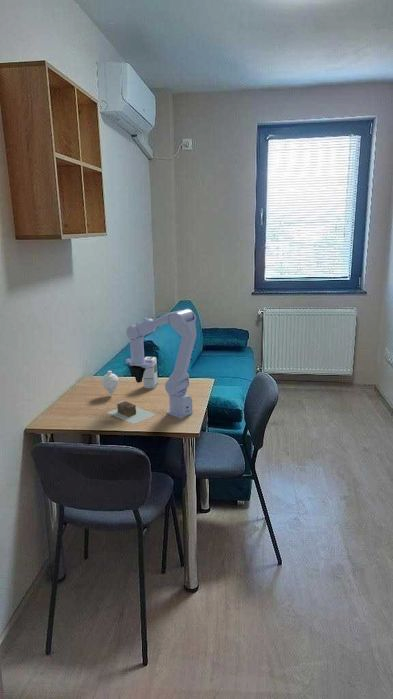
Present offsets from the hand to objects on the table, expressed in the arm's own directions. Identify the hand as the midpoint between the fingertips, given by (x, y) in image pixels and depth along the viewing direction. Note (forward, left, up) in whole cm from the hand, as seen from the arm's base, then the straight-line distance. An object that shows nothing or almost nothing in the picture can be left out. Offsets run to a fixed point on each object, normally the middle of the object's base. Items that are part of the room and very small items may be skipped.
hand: (139, 381), depth 199 cm
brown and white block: (-8, +11, -8) cm, 16 cm away
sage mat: (-6, +10, -10) cm, 16 cm away
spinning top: (+19, +2, -11) cm, 22 cm away
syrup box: (+14, -18, -11) cm, 25 cm away
